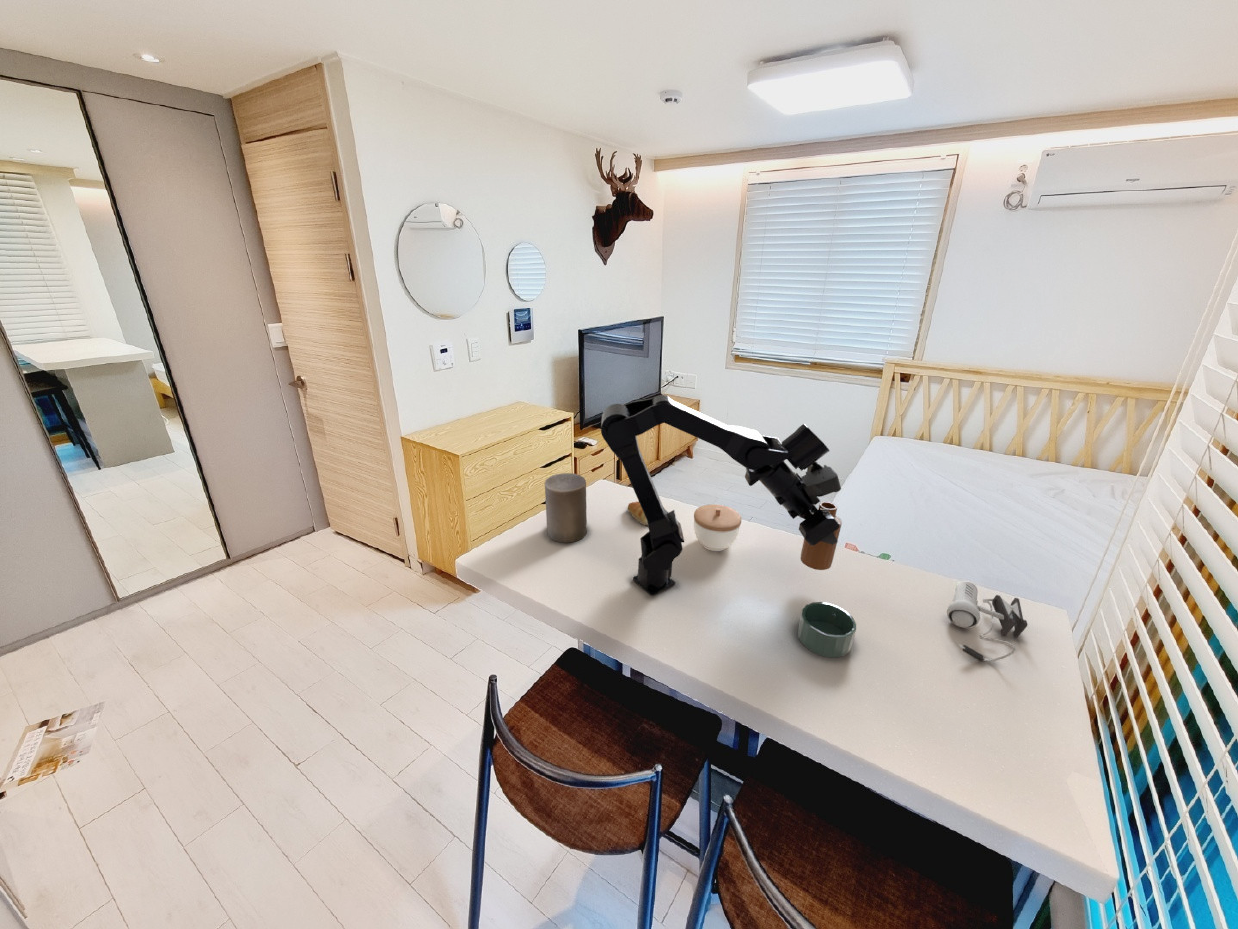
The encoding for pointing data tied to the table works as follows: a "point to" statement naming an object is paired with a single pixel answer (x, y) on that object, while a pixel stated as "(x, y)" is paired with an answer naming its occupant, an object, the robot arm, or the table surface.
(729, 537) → the trinket box
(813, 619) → the cup
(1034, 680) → the table surface
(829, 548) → the bottle
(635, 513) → the pastry
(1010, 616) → the clip-on lamp
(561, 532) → the pillar candle
